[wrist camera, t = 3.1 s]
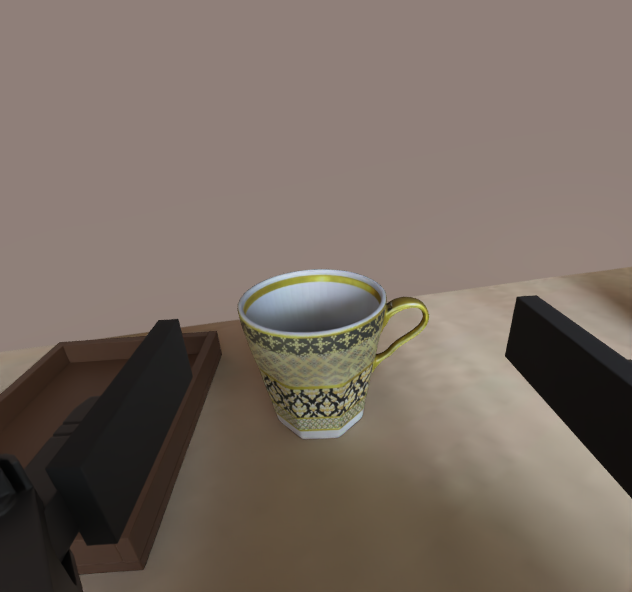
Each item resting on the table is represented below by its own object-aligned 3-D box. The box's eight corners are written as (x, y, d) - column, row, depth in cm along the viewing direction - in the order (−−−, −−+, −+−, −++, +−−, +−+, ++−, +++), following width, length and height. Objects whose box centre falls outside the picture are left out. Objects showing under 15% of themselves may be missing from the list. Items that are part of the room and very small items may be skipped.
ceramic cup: (246, 464, 24) (220, 339, 20) (266, 372, 33) (251, 272, 29) (440, 457, 24) (456, 327, 19) (407, 365, 33) (413, 263, 28)
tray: (222, 354, 36) (216, 330, 35) (143, 570, 19) (128, 537, 17) (69, 365, 36) (59, 342, 35) (-155, 591, 19) (-191, 560, 17)
